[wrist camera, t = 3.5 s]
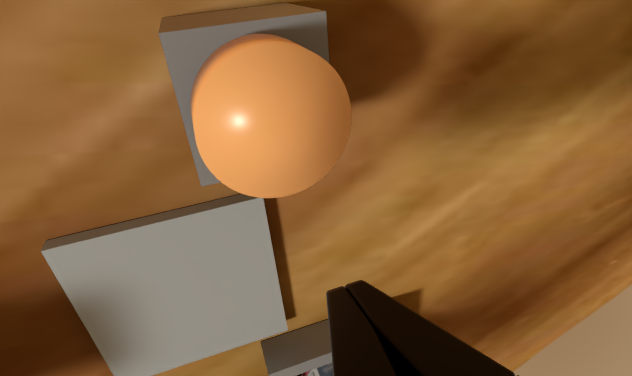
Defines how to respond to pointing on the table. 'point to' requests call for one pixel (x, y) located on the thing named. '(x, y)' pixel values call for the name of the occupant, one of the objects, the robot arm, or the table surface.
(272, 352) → the grey square frame
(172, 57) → the grey block
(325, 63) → the orange oval piece
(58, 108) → the table surface
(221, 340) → the rubber mat
